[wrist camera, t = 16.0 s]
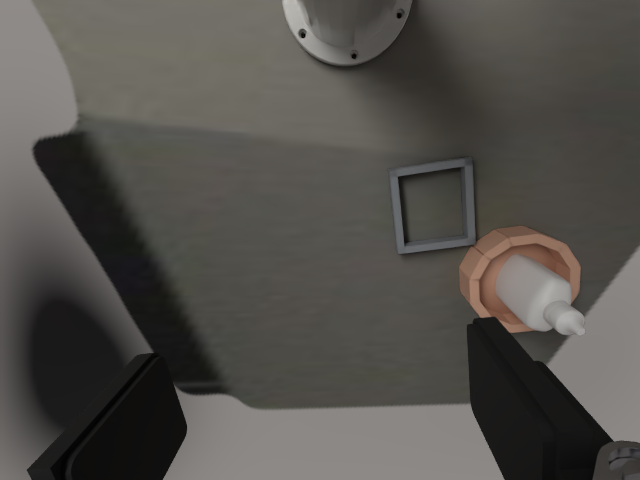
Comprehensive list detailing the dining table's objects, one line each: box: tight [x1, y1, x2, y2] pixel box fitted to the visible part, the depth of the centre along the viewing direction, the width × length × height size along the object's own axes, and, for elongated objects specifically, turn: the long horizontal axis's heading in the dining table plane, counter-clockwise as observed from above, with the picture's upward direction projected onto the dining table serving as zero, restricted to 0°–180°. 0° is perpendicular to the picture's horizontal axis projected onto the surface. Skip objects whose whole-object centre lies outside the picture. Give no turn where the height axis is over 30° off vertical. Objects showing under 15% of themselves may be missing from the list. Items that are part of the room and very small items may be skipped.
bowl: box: [459, 226, 581, 333], centre depth 39 cm, size 11×11×4 cm
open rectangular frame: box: [388, 157, 476, 254], centre depth 38 cm, size 10×9×2 cm
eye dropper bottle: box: [495, 254, 586, 336], centre depth 34 cm, size 4×6×12 cm
